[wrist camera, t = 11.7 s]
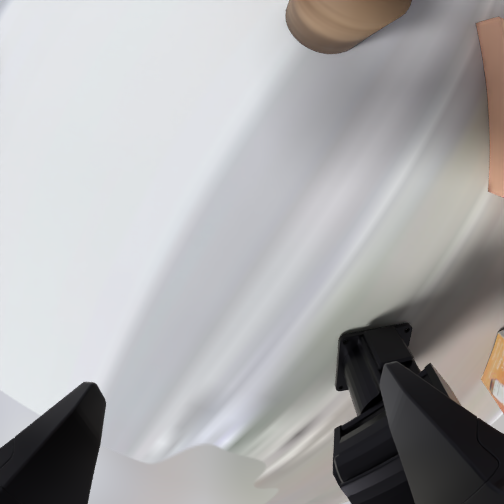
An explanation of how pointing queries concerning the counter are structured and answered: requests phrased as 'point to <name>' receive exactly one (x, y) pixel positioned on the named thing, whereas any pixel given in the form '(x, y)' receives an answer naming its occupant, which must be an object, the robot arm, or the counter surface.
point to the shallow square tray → (494, 96)
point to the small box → (496, 371)
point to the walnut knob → (340, 21)
